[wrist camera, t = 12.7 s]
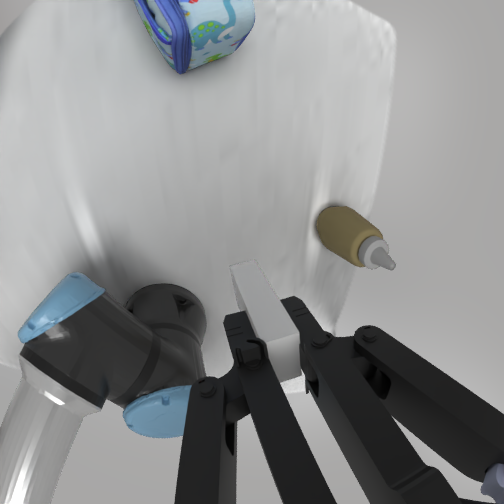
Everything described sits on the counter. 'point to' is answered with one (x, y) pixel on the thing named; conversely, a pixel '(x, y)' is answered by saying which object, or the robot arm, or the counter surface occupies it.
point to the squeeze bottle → (353, 238)
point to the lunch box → (196, 28)
